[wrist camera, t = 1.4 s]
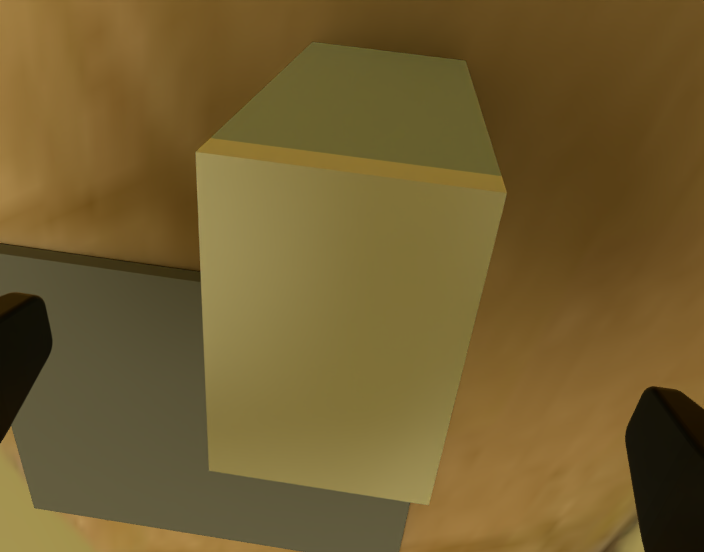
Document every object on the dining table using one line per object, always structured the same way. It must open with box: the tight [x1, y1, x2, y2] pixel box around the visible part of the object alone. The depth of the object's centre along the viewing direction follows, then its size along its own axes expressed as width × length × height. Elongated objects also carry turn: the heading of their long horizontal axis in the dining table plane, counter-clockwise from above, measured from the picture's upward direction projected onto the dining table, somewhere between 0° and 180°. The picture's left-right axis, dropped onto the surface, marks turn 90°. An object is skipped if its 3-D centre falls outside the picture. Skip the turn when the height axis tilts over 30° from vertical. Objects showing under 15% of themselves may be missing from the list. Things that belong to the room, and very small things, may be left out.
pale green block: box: [195, 42, 507, 505], centre depth 13 cm, size 4×6×9 cm, turn 174°
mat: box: [0, 244, 410, 552], centre depth 22 cm, size 16×13×1 cm
